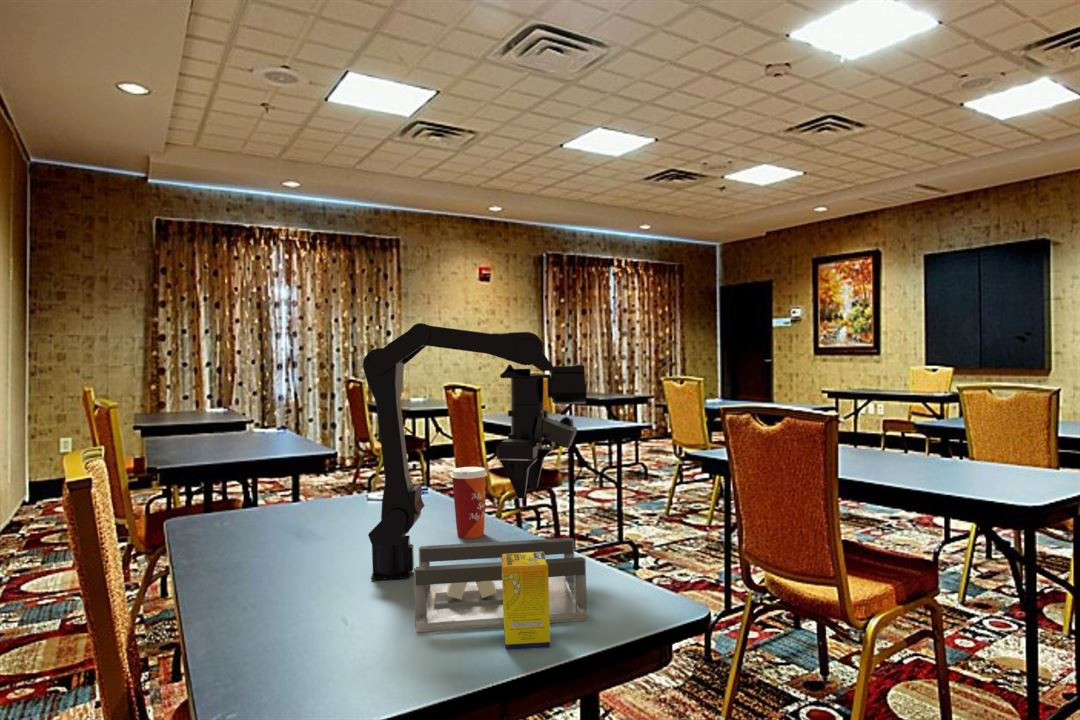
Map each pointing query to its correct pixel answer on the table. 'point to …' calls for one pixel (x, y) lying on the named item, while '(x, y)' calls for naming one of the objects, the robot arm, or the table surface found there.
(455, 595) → the paddle on
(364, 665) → the table surface
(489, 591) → the paddle
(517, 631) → the supplement box
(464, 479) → the paper cup
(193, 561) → the table surface
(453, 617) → the panel
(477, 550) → the gray bar rack
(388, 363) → the robot arm
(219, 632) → the table surface
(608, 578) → the table surface
